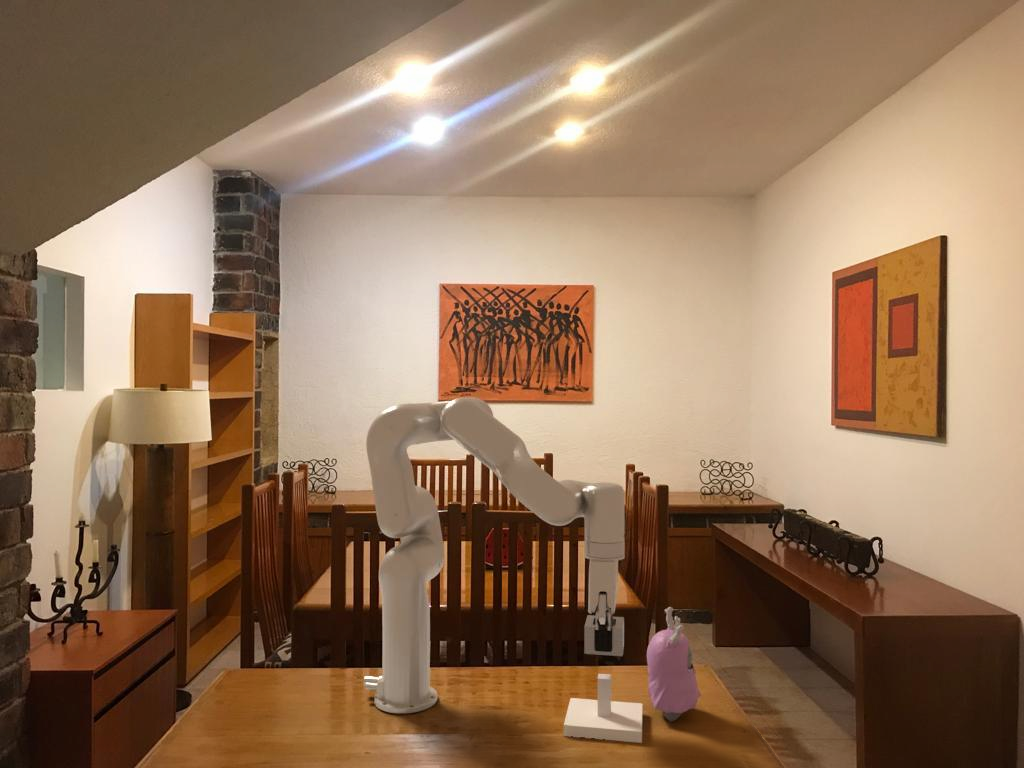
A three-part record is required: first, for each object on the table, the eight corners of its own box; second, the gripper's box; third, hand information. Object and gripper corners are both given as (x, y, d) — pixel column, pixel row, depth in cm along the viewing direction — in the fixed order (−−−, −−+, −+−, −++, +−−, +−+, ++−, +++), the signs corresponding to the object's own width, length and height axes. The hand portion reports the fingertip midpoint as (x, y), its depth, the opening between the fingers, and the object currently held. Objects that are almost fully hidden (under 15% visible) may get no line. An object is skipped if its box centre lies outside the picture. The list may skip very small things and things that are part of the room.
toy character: (702, 731, 135) (702, 622, 135) (646, 725, 137) (646, 618, 137) (699, 703, 147) (699, 603, 147) (647, 699, 149) (647, 600, 149)
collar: (584, 653, 135) (584, 626, 135) (587, 641, 142) (587, 615, 142) (622, 656, 133) (622, 628, 134) (624, 643, 140) (624, 617, 140)
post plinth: (563, 736, 133) (563, 686, 133) (570, 708, 145) (570, 662, 145) (641, 742, 130) (641, 692, 130) (642, 713, 142) (642, 667, 142)
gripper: (588, 539, 147) (588, 628, 147) (580, 558, 130) (580, 659, 130) (625, 540, 146) (626, 630, 145) (623, 560, 129) (623, 662, 128)
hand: (604, 643), depth 138 cm, fingers closed on collar, 7 cm apart
